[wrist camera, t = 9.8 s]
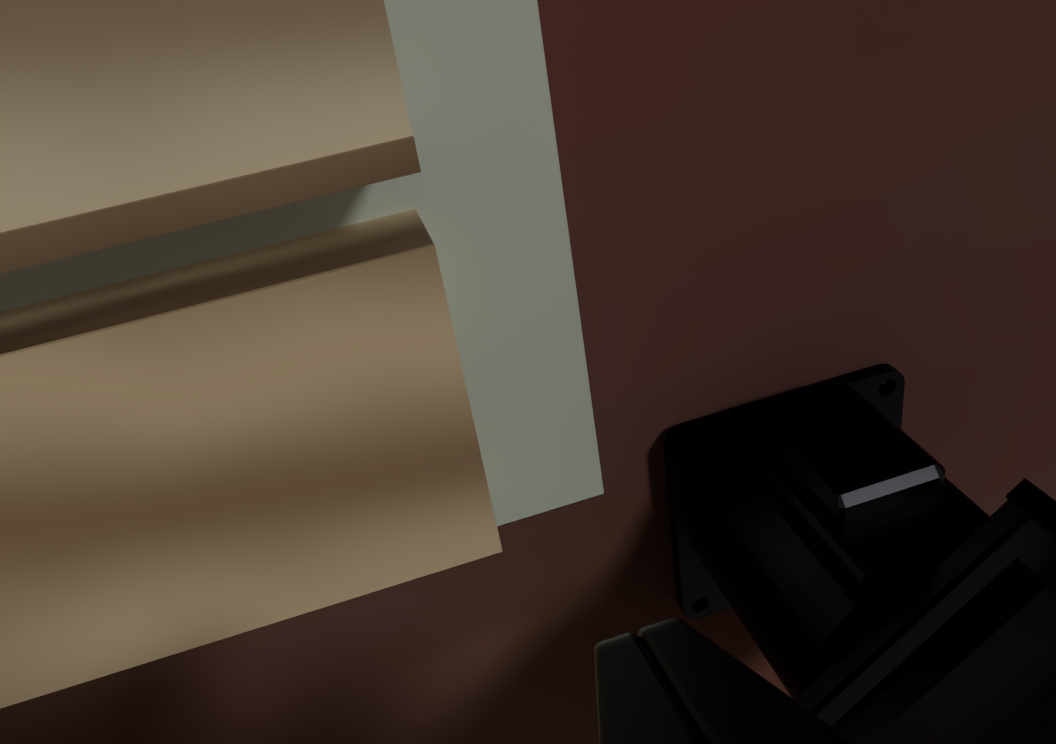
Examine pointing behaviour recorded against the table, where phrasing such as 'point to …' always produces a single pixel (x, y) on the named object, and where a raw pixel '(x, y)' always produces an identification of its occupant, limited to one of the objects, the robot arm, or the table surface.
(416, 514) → the oak board
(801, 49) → the table surface
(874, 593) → the robot arm
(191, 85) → the plank
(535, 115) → the underlay mat
